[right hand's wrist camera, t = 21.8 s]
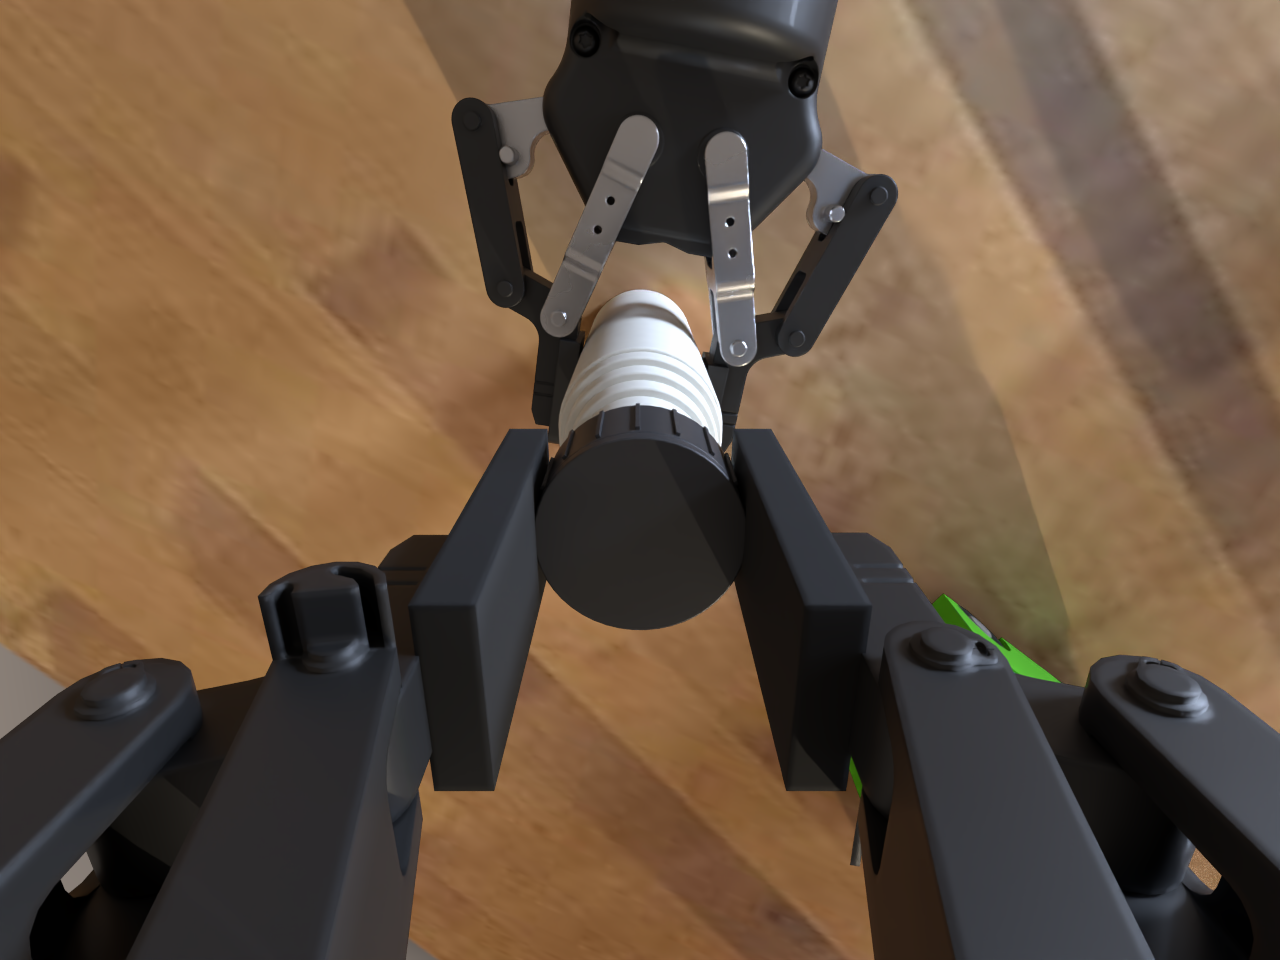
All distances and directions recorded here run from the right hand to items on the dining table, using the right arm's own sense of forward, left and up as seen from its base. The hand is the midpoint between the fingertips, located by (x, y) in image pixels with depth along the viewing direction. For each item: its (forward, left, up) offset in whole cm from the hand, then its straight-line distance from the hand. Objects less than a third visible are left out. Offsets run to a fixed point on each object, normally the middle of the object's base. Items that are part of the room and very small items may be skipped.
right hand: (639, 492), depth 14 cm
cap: (0, 0, +2) cm, 2 cm away
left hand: (+1, +2, -11) cm, 11 cm away
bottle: (0, 0, -17) cm, 17 cm away
